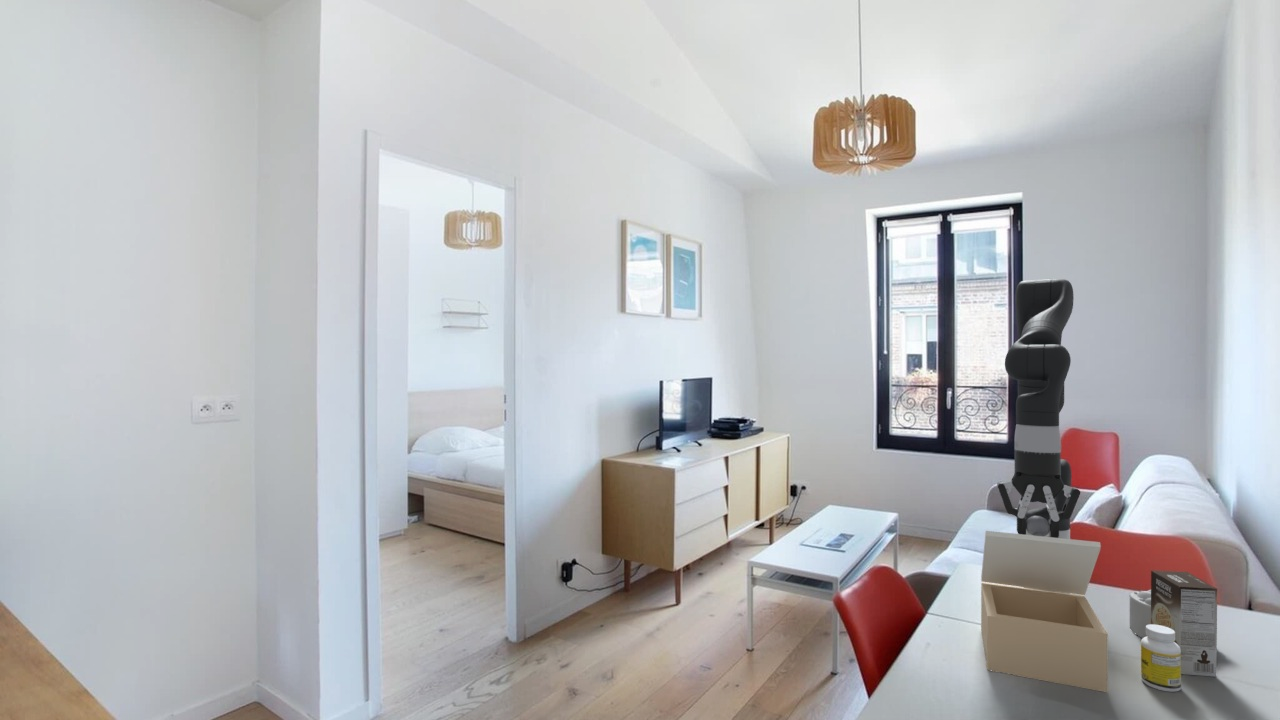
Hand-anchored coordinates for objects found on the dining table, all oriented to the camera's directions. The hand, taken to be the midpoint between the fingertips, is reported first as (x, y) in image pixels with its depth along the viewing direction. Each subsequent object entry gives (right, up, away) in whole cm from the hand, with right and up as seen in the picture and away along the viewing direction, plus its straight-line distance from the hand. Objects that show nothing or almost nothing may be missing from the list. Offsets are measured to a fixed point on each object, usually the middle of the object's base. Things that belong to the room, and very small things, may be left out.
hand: (1037, 538), depth 121 cm
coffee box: (+25, -23, -3) cm, 34 cm away
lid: (+1, -6, +2) cm, 6 cm away
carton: (0, -23, 0) cm, 23 cm away
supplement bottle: (+15, -23, -10) cm, 29 cm away
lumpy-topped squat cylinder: (+32, -23, +8) cm, 40 cm away
